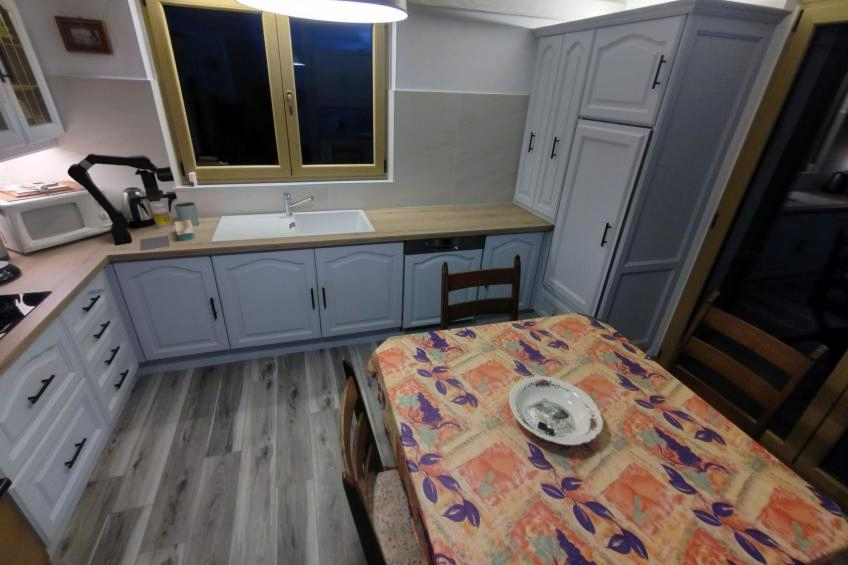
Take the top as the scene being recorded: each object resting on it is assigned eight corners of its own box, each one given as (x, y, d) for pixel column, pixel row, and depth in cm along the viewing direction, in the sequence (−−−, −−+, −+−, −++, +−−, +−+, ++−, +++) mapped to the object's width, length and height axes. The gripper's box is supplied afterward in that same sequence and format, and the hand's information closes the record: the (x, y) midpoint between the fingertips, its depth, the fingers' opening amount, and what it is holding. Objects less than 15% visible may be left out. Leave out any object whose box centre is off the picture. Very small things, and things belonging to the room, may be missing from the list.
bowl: (180, 242, 193) (177, 232, 191) (179, 237, 198) (176, 228, 196) (195, 239, 197) (193, 230, 194) (194, 235, 202) (192, 226, 199)
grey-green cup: (194, 228, 211) (188, 207, 205) (175, 228, 211) (169, 206, 205) (203, 222, 220) (198, 202, 214) (186, 222, 220) (180, 201, 214)
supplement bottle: (167, 229, 208) (160, 206, 202) (154, 229, 208) (147, 206, 202) (174, 225, 214) (168, 203, 208) (162, 225, 214) (155, 202, 208)
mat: (140, 251, 181) (140, 250, 181) (140, 240, 194) (140, 239, 194) (170, 247, 187) (169, 246, 187) (168, 236, 200) (168, 235, 200)
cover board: (177, 234, 188) (176, 230, 187) (175, 226, 198) (174, 221, 197) (194, 232, 192) (193, 227, 190) (191, 224, 202) (190, 219, 201)
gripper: (126, 188, 176) (136, 221, 183) (173, 184, 185) (182, 215, 192) (126, 183, 184) (137, 215, 191) (172, 179, 193) (180, 210, 200)
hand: (159, 214), depth 193 cm, fingers open, 9 cm apart
